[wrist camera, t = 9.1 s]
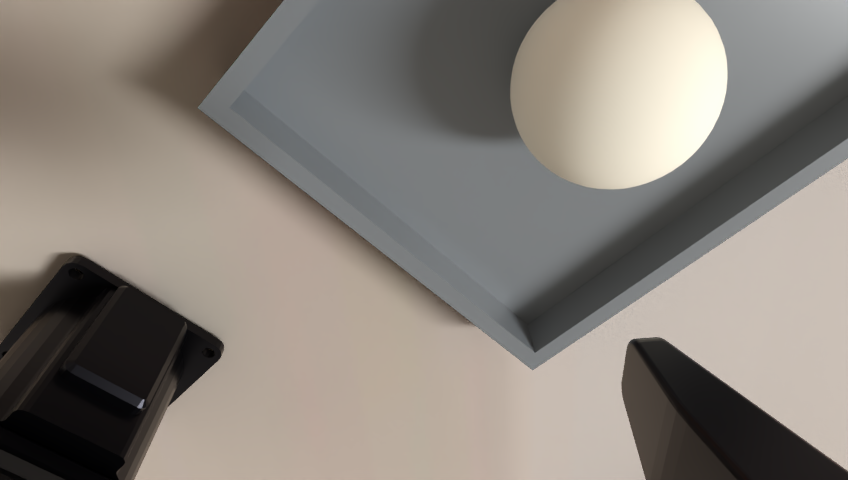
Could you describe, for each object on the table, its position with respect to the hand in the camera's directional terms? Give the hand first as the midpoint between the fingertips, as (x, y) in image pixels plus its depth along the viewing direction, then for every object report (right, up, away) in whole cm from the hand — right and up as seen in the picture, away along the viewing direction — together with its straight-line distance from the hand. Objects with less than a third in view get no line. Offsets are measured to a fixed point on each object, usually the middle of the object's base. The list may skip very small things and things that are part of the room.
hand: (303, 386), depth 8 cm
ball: (+6, +6, +6) cm, 11 cm away
